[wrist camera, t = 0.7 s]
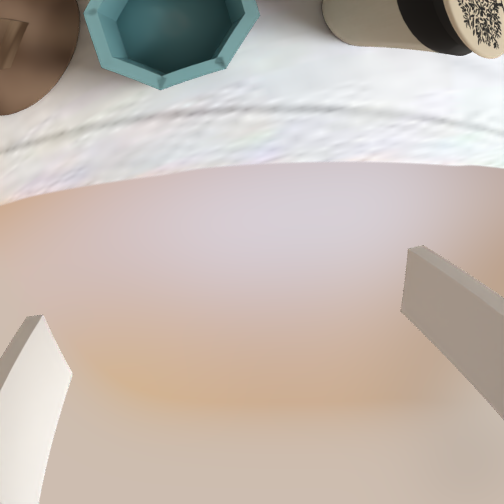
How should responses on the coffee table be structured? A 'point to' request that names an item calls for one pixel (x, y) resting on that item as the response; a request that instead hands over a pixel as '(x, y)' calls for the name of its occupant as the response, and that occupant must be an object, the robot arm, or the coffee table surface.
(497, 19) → the travel mug
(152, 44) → the bowl
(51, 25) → the lid
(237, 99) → the coffee table surface
